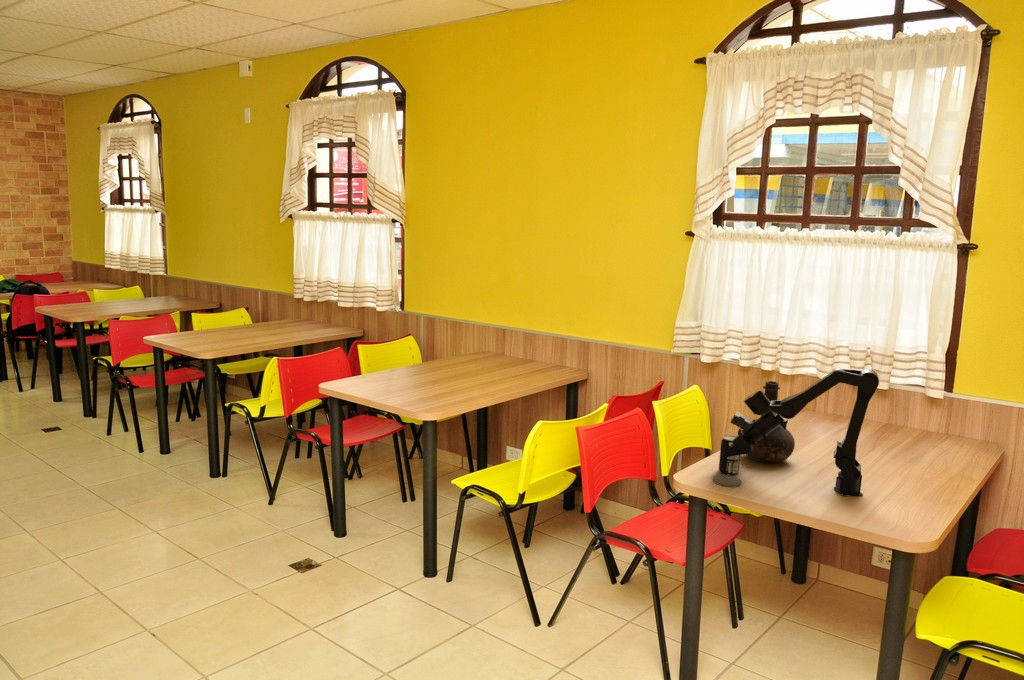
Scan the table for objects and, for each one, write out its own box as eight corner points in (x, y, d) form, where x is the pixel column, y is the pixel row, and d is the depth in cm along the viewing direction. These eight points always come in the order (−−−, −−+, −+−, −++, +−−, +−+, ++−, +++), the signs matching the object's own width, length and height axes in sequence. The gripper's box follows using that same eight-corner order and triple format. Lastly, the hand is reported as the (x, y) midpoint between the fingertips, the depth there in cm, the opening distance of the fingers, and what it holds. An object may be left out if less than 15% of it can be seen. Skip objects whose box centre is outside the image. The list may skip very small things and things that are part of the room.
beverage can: (723, 467, 261) (726, 433, 259) (742, 472, 257) (745, 437, 255) (715, 472, 256) (718, 437, 254) (733, 477, 252) (737, 442, 250)
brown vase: (801, 460, 272) (809, 383, 267) (777, 471, 260) (786, 390, 255) (754, 448, 285) (762, 374, 280) (730, 457, 272) (737, 380, 267)
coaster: (735, 477, 252) (735, 474, 252) (746, 487, 244) (746, 484, 243) (708, 476, 251) (708, 474, 251) (718, 486, 243) (719, 484, 242)
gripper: (750, 400, 260) (714, 426, 266) (743, 412, 243) (705, 440, 249) (772, 426, 258) (736, 452, 264) (767, 440, 241) (728, 468, 247)
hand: (726, 452), depth 256 cm, fingers open, 8 cm apart
